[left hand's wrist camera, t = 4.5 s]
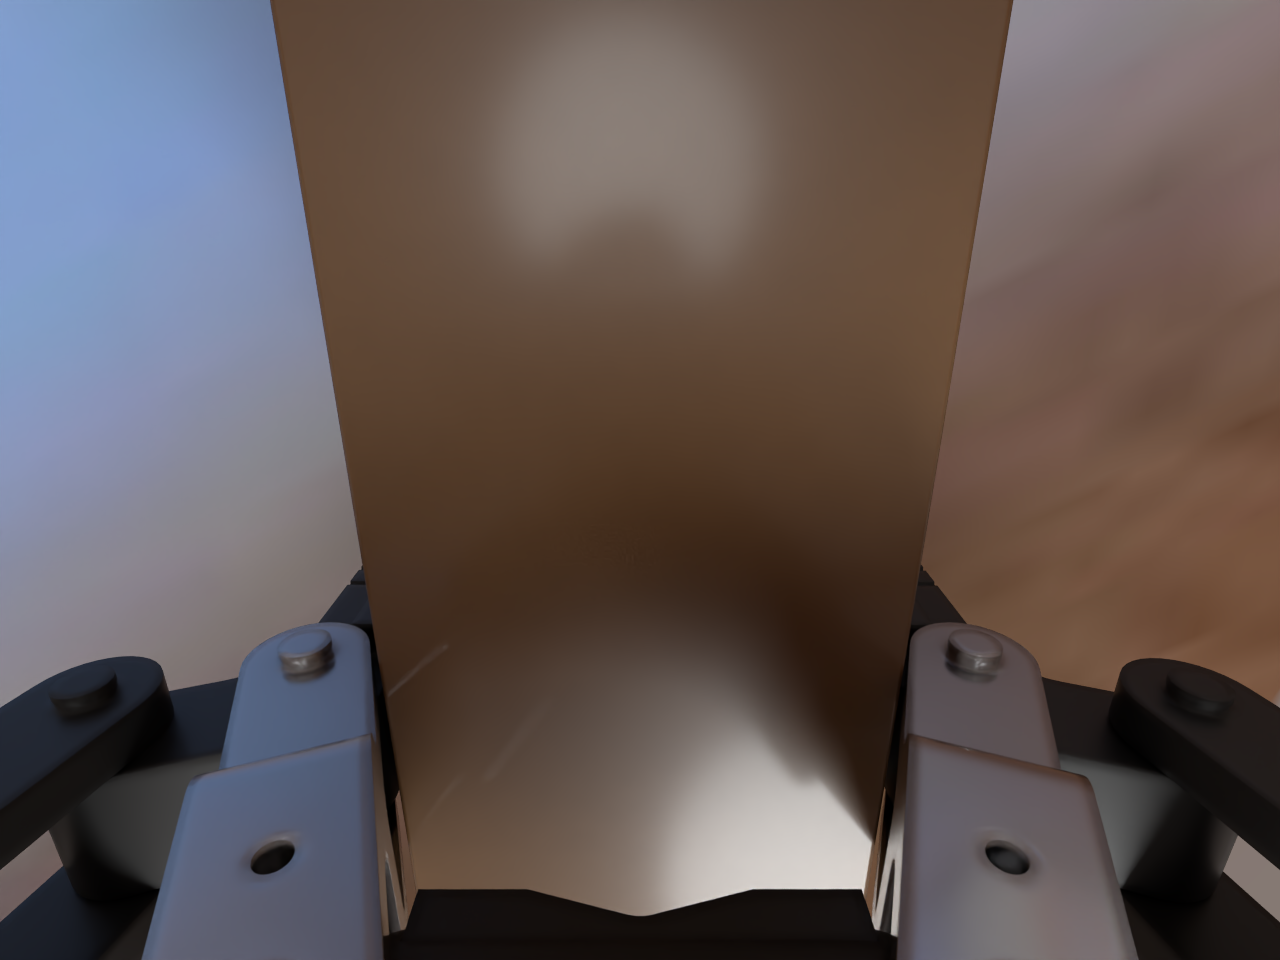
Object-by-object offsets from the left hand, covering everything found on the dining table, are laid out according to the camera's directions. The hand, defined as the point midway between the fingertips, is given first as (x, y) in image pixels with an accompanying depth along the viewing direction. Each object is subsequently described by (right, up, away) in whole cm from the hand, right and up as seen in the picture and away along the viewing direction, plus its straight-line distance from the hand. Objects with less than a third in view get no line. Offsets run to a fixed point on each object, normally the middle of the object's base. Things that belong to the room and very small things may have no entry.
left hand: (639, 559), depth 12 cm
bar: (0, +8, +1) cm, 8 cm away
